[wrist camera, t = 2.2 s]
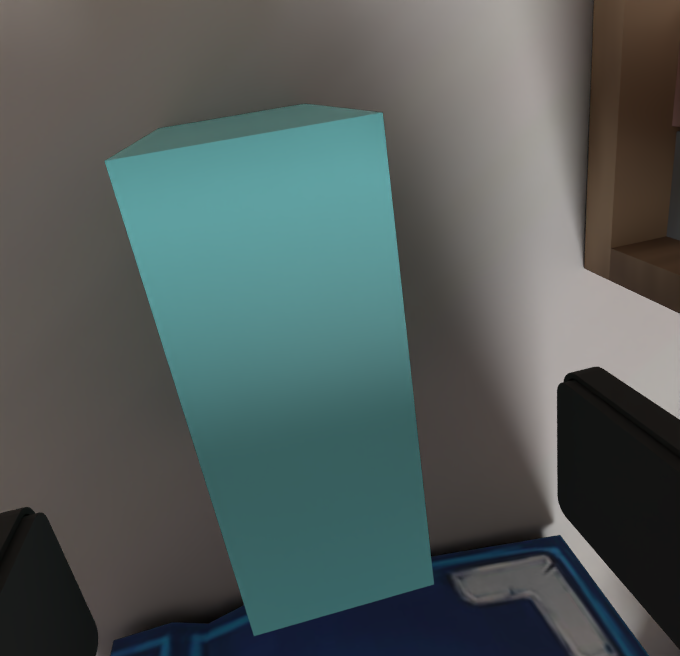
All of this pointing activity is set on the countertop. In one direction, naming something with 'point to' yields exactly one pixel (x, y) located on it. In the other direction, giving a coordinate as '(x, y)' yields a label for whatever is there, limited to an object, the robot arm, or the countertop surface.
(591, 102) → the shelf
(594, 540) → the robot arm
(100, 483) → the countertop surface
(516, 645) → the book
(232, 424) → the teal book
